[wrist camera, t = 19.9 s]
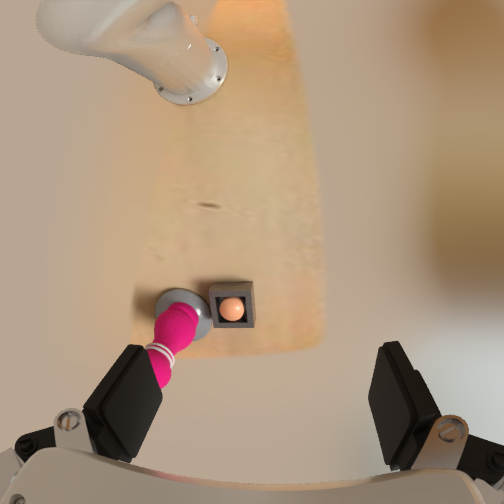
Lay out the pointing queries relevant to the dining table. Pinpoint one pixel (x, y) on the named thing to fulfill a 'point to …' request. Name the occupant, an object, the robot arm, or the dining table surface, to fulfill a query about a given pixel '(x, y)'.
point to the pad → (193, 301)
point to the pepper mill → (171, 338)
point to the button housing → (232, 290)
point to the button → (232, 308)
